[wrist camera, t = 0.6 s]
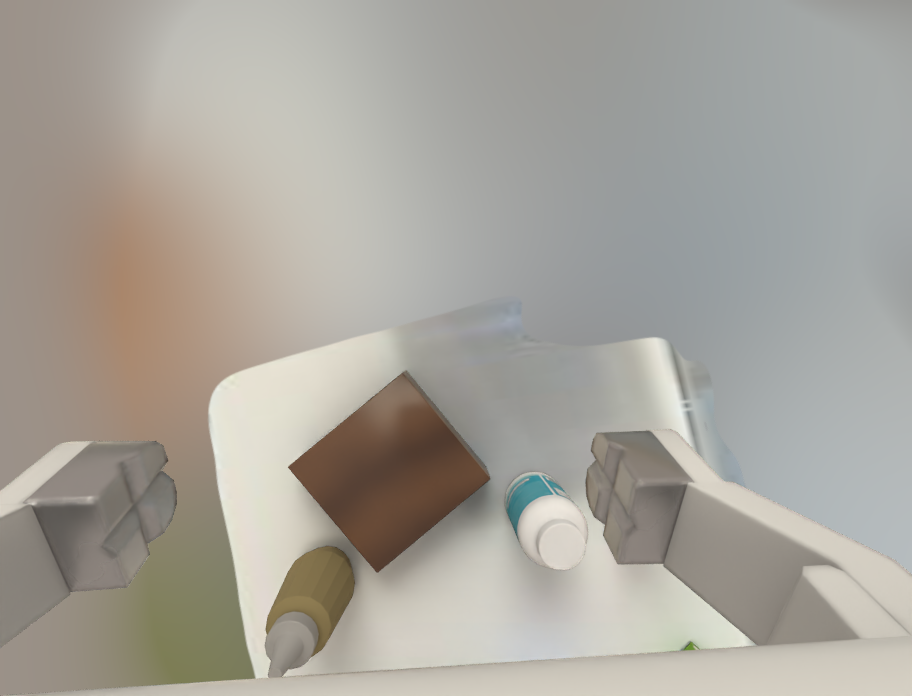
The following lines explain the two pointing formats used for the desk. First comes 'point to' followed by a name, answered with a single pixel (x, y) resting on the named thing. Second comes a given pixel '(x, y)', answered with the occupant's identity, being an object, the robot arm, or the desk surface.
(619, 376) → the desk surface
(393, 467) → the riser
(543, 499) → the pill bottle
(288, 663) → the squeeze bottle
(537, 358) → the desk surface
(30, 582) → the robot arm
